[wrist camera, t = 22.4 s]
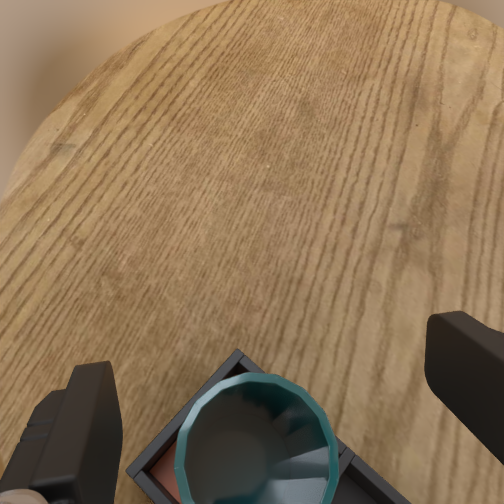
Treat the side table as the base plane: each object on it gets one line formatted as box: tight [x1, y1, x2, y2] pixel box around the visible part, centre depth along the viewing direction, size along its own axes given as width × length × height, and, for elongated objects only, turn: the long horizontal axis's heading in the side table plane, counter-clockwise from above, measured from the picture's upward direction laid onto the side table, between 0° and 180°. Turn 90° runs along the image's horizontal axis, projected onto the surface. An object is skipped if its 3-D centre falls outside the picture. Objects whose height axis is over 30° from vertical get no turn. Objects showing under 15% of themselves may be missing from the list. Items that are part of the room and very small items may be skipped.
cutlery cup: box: [174, 372, 339, 504], centre depth 21 cm, size 6×6×10 cm
